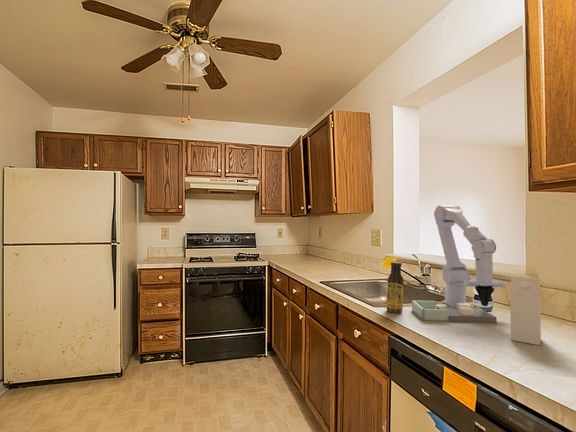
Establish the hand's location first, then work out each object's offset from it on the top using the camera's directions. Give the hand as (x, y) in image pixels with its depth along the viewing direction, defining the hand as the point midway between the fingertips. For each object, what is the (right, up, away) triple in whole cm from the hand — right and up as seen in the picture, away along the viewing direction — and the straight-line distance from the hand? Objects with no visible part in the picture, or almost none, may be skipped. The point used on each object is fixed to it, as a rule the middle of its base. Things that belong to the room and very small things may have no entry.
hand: (484, 305), depth 127 cm
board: (-9, -4, -2) cm, 10 cm away
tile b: (-10, -2, -5) cm, 12 cm away
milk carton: (-3, -3, -27) cm, 27 cm away
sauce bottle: (-33, -4, +4) cm, 34 cm away
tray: (-22, -4, -1) cm, 22 cm away
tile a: (-7, -2, +1) cm, 8 cm away
